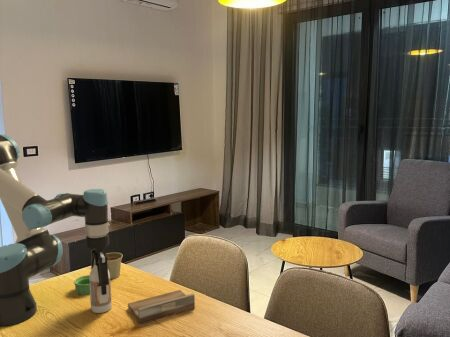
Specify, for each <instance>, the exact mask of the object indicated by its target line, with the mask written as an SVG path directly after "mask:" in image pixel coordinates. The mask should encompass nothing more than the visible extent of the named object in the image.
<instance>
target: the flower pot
mask: <svg viewBox="0 0 450 337" xmlns="http://www.w3.org/2000/svg"><path fill="white" fill-rule="evenodd" d="M106 256H107V266H108V270H109V273H110V280H114V279H117V278H119V276H121V266H122V259H123V254H122V253H121V252H107V253H106Z"/></svg>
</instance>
